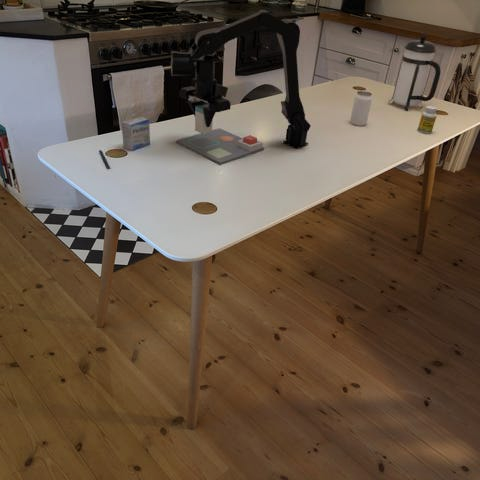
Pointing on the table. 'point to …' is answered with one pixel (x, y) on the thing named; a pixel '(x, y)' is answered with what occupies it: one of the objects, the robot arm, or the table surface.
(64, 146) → the table surface
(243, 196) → the table surface
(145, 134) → the medicine box
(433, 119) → the supplement bottle
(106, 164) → the pencil
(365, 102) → the can
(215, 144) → the picture board
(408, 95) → the coffee press
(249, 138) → the button
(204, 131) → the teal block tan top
